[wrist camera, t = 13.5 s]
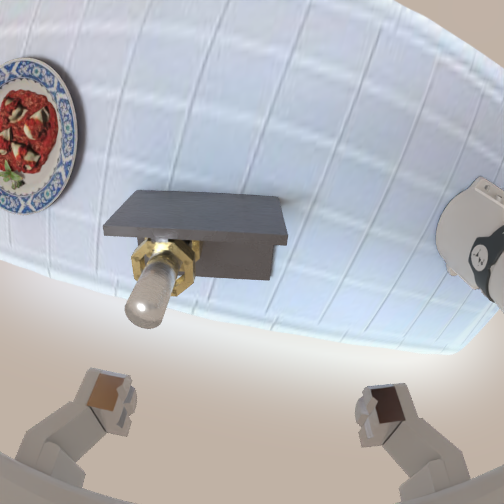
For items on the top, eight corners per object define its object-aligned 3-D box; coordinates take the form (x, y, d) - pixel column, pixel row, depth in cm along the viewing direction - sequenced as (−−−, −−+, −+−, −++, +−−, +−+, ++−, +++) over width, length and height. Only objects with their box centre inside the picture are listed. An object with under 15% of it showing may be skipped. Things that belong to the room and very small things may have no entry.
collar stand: (278, 196, 43) (287, 235, 32) (268, 276, 49) (274, 328, 39) (136, 190, 42) (102, 225, 32) (143, 268, 48) (119, 317, 38)
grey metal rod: (191, 224, 44) (161, 299, 29) (191, 251, 46) (165, 331, 31) (162, 223, 43) (120, 294, 28) (163, 249, 45) (127, 326, 30)
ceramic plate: (7, 37, 28) (-4, 36, 25) (114, 101, 36) (105, 103, 33) (-37, 165, 38) (-47, 170, 35) (50, 237, 46) (41, 245, 43)
